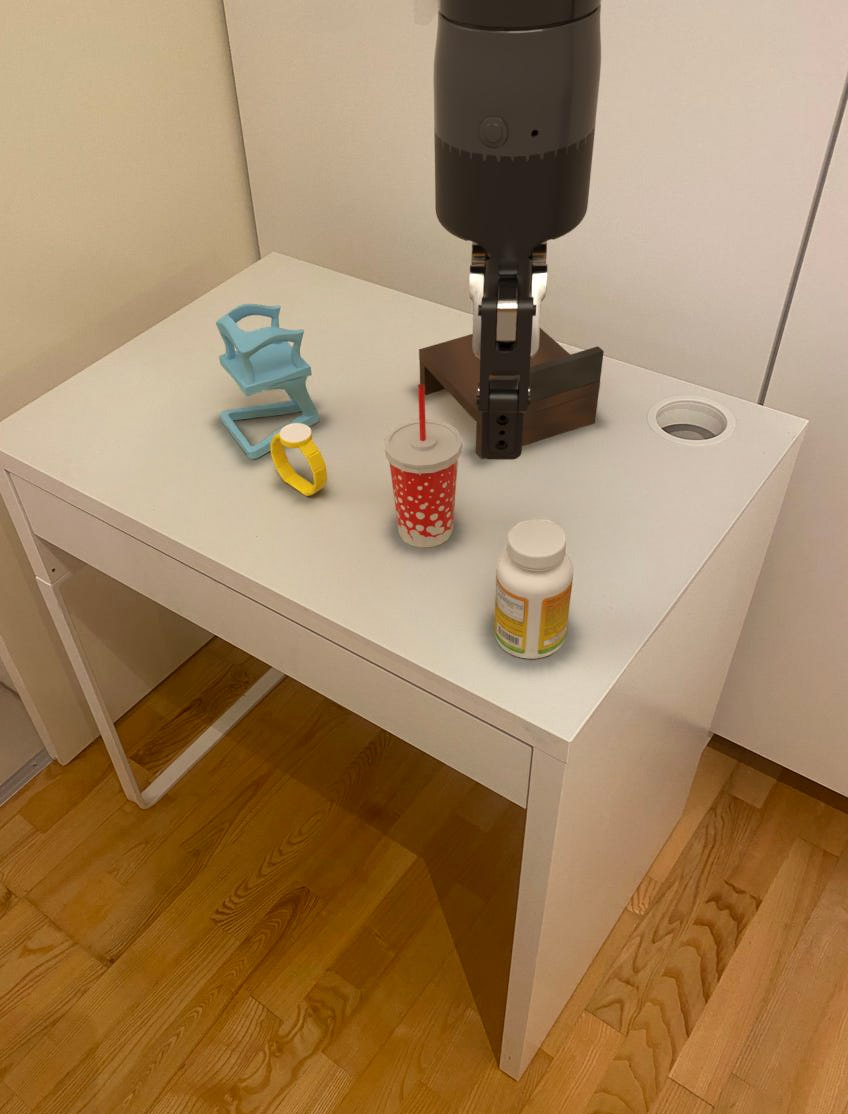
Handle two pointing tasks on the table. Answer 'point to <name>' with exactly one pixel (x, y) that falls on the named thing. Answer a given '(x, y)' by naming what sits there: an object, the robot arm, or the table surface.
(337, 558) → the table surface
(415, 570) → the table surface
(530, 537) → the supplement bottle
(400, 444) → the beverage cup
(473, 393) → the shelf
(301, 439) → the watch
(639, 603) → the table surface
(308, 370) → the chair
